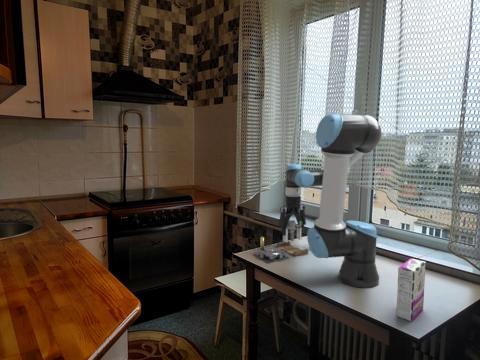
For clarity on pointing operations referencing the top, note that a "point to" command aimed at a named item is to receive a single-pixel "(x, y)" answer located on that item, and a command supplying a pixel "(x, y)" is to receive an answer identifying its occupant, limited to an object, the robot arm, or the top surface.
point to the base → (271, 259)
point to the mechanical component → (293, 228)
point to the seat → (291, 249)
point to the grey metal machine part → (270, 251)
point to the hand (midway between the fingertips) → (292, 240)
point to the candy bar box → (410, 289)
